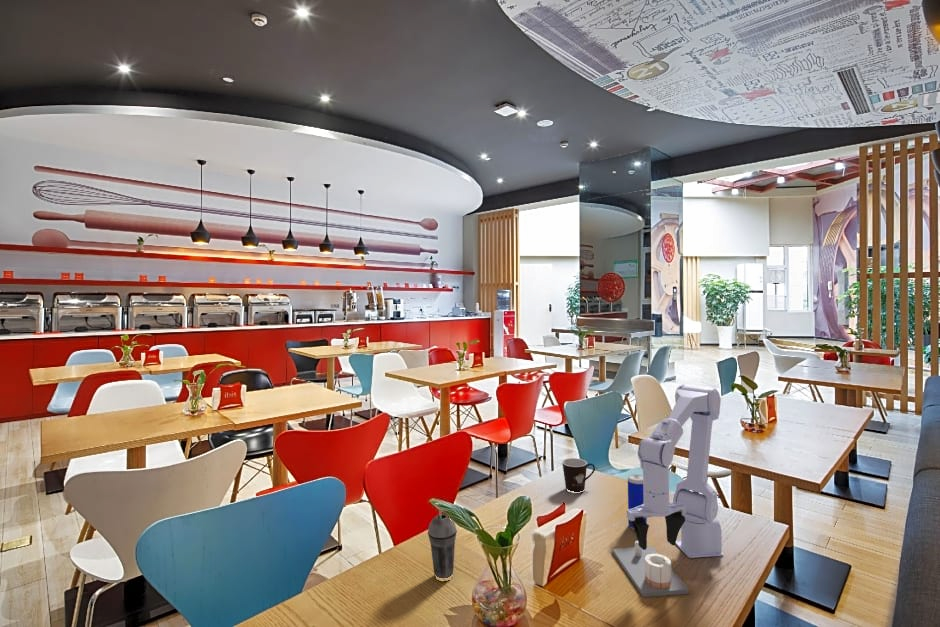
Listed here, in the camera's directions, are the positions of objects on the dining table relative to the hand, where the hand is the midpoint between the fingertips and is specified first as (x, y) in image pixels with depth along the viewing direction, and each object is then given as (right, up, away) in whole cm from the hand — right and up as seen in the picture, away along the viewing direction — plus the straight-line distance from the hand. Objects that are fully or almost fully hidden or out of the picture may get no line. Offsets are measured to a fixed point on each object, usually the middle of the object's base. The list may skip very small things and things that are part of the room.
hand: (656, 545), depth 113 cm
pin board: (0, -9, +5) cm, 11 cm away
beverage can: (+5, -8, +28) cm, 30 cm away
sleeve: (0, -8, 0) cm, 8 cm away
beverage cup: (-51, -11, +6) cm, 53 cm away
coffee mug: (-6, -8, +55) cm, 56 cm away
